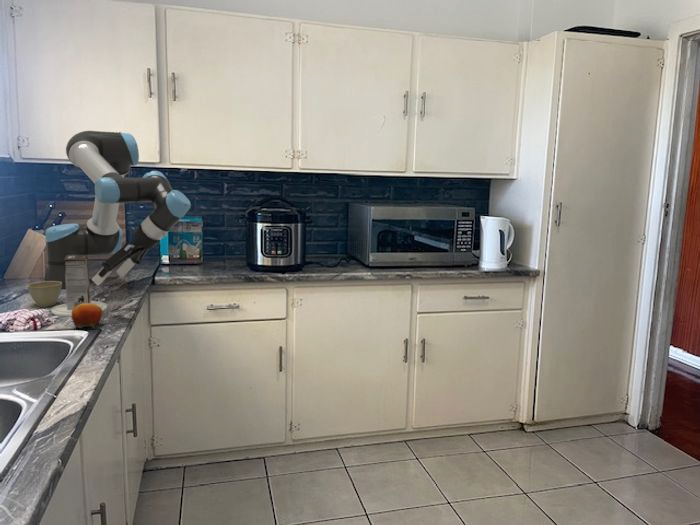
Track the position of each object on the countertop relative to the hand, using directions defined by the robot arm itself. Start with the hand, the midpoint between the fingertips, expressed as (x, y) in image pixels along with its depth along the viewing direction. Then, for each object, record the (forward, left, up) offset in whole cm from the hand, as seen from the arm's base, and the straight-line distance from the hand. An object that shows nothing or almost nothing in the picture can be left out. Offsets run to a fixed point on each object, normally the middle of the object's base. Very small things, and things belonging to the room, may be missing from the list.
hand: (107, 278), depth 172 cm
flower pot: (-4, -25, -11) cm, 28 cm away
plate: (0, -10, -11) cm, 15 cm away
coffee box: (0, -10, -10) cm, 14 cm away
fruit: (+16, +3, -11) cm, 20 cm away
